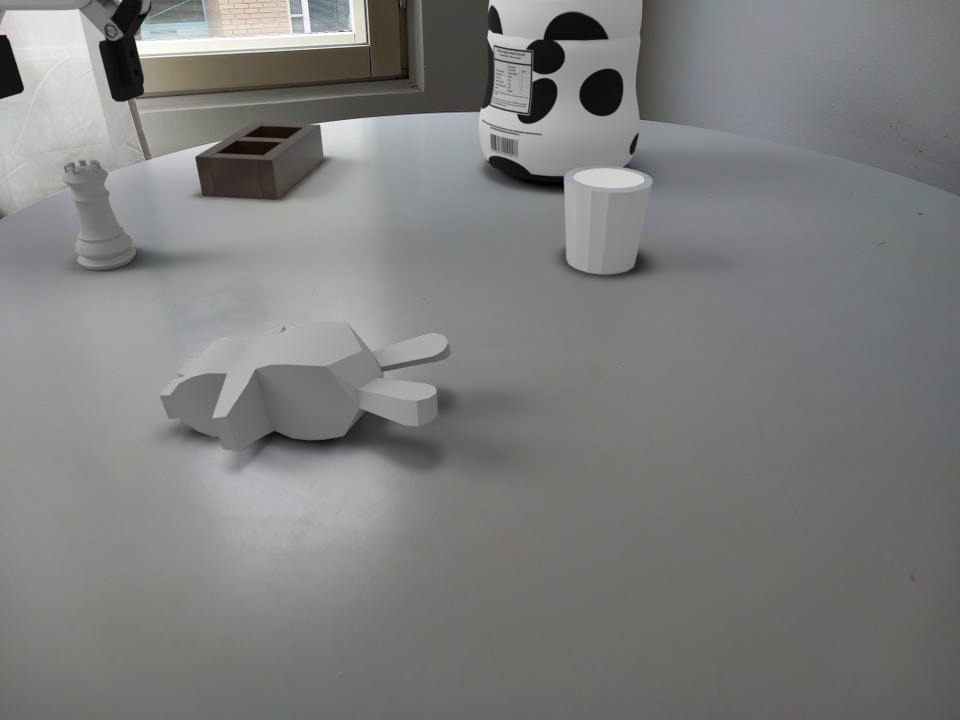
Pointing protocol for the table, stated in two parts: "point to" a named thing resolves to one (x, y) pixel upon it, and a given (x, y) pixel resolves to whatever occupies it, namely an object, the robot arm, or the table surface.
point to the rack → (260, 160)
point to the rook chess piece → (96, 219)
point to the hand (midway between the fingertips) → (67, 97)
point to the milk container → (560, 86)
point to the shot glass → (604, 217)
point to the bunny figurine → (300, 384)
